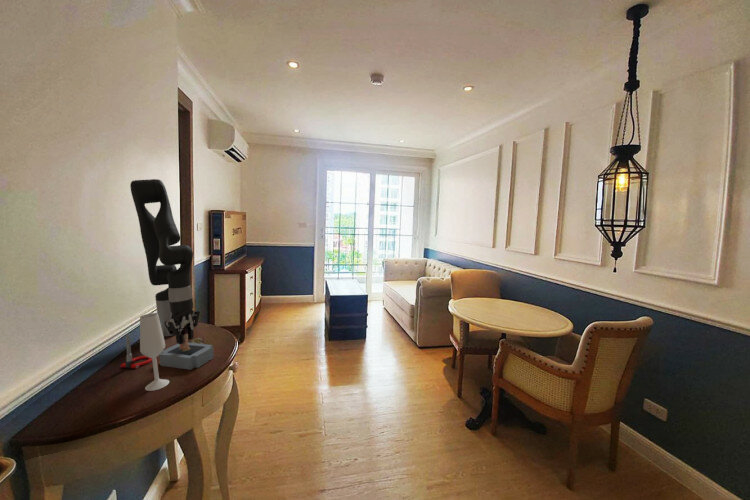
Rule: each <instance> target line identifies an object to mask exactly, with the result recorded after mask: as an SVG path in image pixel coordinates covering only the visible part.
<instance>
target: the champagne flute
mask: <svg viewBox="0 0 750 500" xmlns="http://www.w3.org/2000/svg"><path fill="white" fill-rule="evenodd" d="M165 341H166V340H165V337H163V333H162V328H161V324H160V320H159V316H158V314H157V312H154V313H153V312H152V313H146V314H142V315H140V317H139V351H140V353H141V355H142V356H147V357H149V358H152V362H151V363H152V369H153V377H154V380H152V381H151V382H149V383H148V384H147V385H146V386H145V388H144V389H145V390H146V391H148V392H151V391H157V390H160V389H162V388H165V387H166V386H168V385H169V384H170V380H169V379H166V378H165V379H164V378H160V375H159V366H158V360H157V357H159V354H161V352H162V351H163V350H165V349H166V342H165Z"/></svg>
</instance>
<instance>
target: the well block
mask: <svg viewBox="0 0 750 500" xmlns="http://www.w3.org/2000/svg"><path fill="white" fill-rule="evenodd" d="M188 344H189V348H190V350H188V351H184V352H183V351H182V349H180V344H178V343H176V344H174V345H171V346H170V347H167V348H164V350H163V351H162V352H161V353H160V354H159V356H158V357H159V363H160V364H159V365H160V366H161V367H167V368H168V367H169V368H175V369H181V370H189V371H190V370H192V369H194V368H196V369H198V368H200V367H202V366H203V365H205V364H206V363H208V362H209V360H210V361H212V360H213V359H214V356H215V355H214V346H213V344H207V343H206V344H205V343H204V344H198V343H189V342H188Z"/></svg>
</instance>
